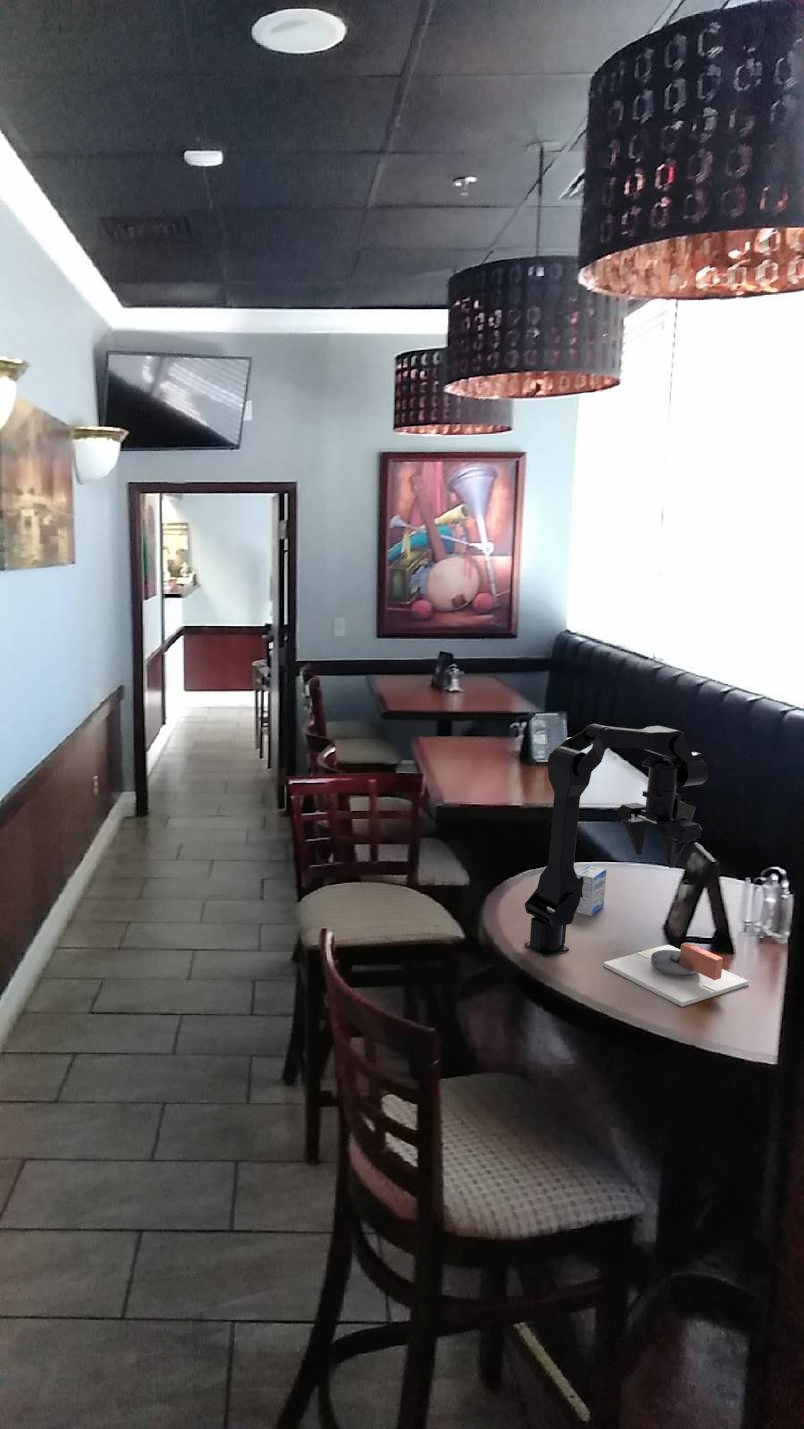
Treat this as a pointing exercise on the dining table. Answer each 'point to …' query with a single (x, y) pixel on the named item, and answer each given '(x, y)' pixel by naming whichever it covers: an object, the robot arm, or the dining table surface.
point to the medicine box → (592, 890)
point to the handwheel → (688, 962)
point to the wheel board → (672, 979)
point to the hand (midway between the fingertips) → (654, 860)
